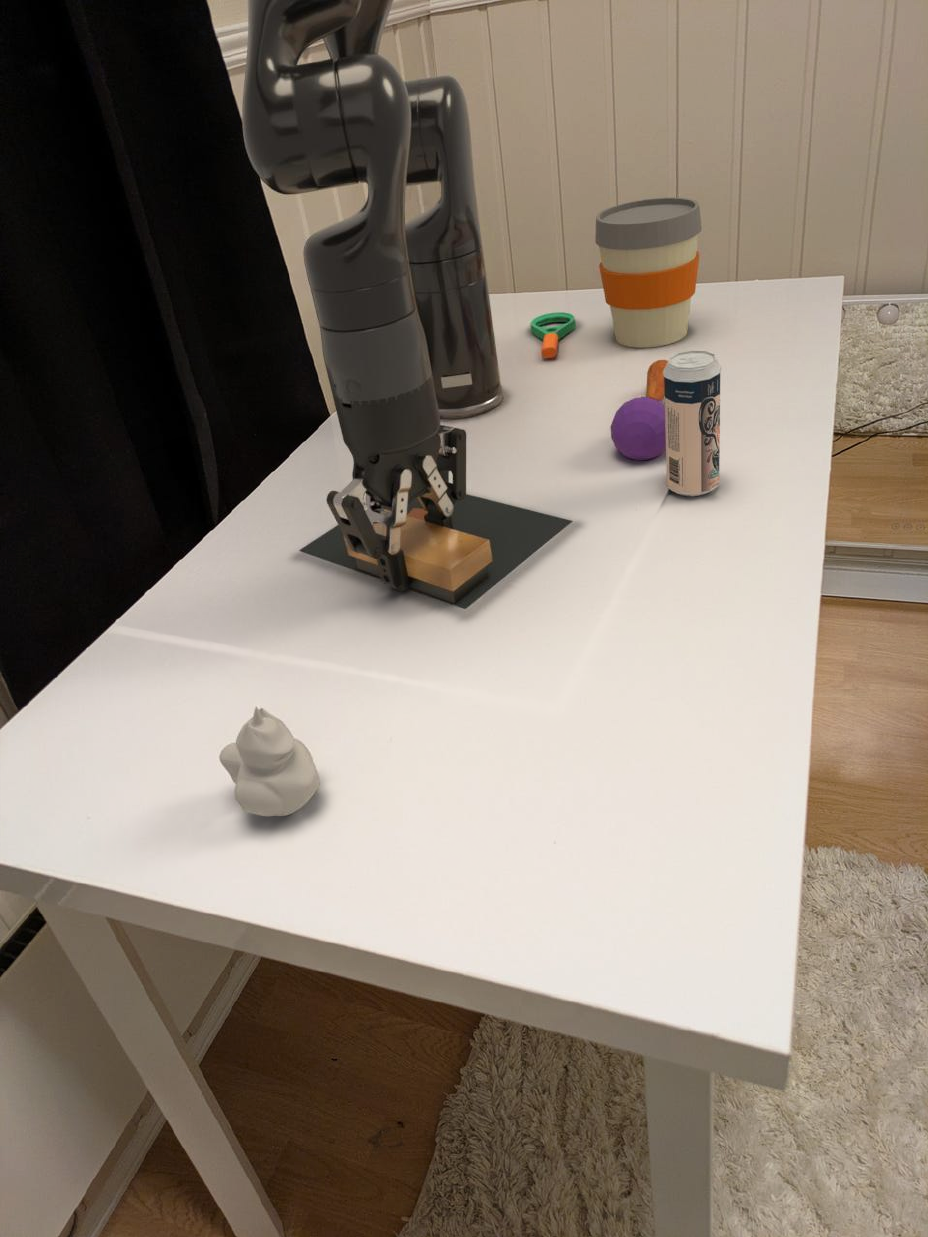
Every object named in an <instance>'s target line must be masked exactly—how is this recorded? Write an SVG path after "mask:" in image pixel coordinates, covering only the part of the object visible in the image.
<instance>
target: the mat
mask: <svg viewBox="0 0 928 1237" xmlns="http://www.w3.org/2000/svg"><path fill="white" fill-rule="evenodd" d="M381 506H382V508H383V509H385V510H389V511H392V508H390V507H387V506H383V505H381ZM453 507H454V510H453V513H452V518H451V519H452V525H453V529H454V530H457V531H461V532H464V533H467V534H471V535H474V536H478V537H481V538H484V539H488V540H490V547H491V553H492V560H493V561H492V562H490V563H489V564H488V565H487V568H488V574H489V577H488V578H487V579H485V580H484V581H483V582H482V583H480V584H479V585H478V586H477V587H475V588H474V589H473V590H471V591H470V592H469V593H468V594H466V595H465V596H464V597H463V598H461V599H460V600H459V601H458V602H456V603H451V602H449V601H446V600H443V599H440V598H437V597H435V596H432V595H429V594H426V593H423V592H421V591H418V590H415V589H412V588H409V587H408V588H407V589H406V590H409V591H412V592H415V593H418V594H420V595H423V596H426V597H430V598H433V599H435V600H438V601H441V602H444V603H447V604H450V605H453V606H455V607H458V608H461V609H464V610H467V609H468V608H469V607H470V606H471V605H473V604H474V603H475V602H476V601H478V600H479V599H480V598H481V597H483V596H484V595H485V594H486V593H487V592H489V591H490V590H491V589H492V588H493V587H494V586H496V585H497V584H498V583H500V582H501V581H502V580H503V579H504V578H505V577H507V576H508V575H509V574H511V573H512V572H513V571H514V570H515V569H516V568H518V567H519V566H520V565H522V564H523V563H524V562H525V561H526V560H528V559H529V558H530V557H531V556H532V555H534V554H535V553H536V552H537V551H538V550H540V549H541V548H542V547H543V546H544V545H546V544H547V543H548V542H549V541H551V540H552V539H553V538H554V537H556V536H557V535H558V534H559V533H560V532H561V531H563V530H564V529H565V528H567V526H568V527H569V525H570V524H571V523H573V520H571V519H567V518H563V517H559V516H555V515H551V514H546V513H543V512H539V511H535V510H532V509H527V508H523V507H520V506H515V505H512V504H507V503H503V502H499V501H495V500H492V499H487V498H483V497H480V496H475V495H471V494H468V493H466V495H465V497H464V499H463V500H457V501H456V502H455V504H454V505H453ZM413 508H419V509H423V507H422V506H421V504H420V502H419V501H418V499H417V497H416V498H414V499H413V500H412V502H411V503H410V504H409V505H408V506H407V515H408V514H409V512H410V511H411V510H412V509H413ZM298 551H299V552H301V553H304V554H306V555H310V556H313V557H315V558H318V559H321V560H323V561H327V562H330V563H332V564H335V565H337V566H341V567H344V568H346V569H350V570H351V571H352V570H353V571H355V572H358V573H361V574H364V575H367V576H369V577H373V578H376V579H378V580H381V577H379V576H376V575H373V574H370V573H367V572H365V571H362V570H359V569H358V567H357V563H356V559H355V557H352V556H350V555H348V551H347V547H346V543H345V540H344V535H343V533H342V531H341V529H340V527H339V525H338V524H337V525H335V526H334V527H332V528H331V529H329V530H328V531H327V532H325V533H324V534H322V535H320V536H319V537H317V538H315V539H314V540H312V541H311V542H310V543H308V544H306V545H304V546H303V547H302V548H300V549H299V550H298Z"/></svg>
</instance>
